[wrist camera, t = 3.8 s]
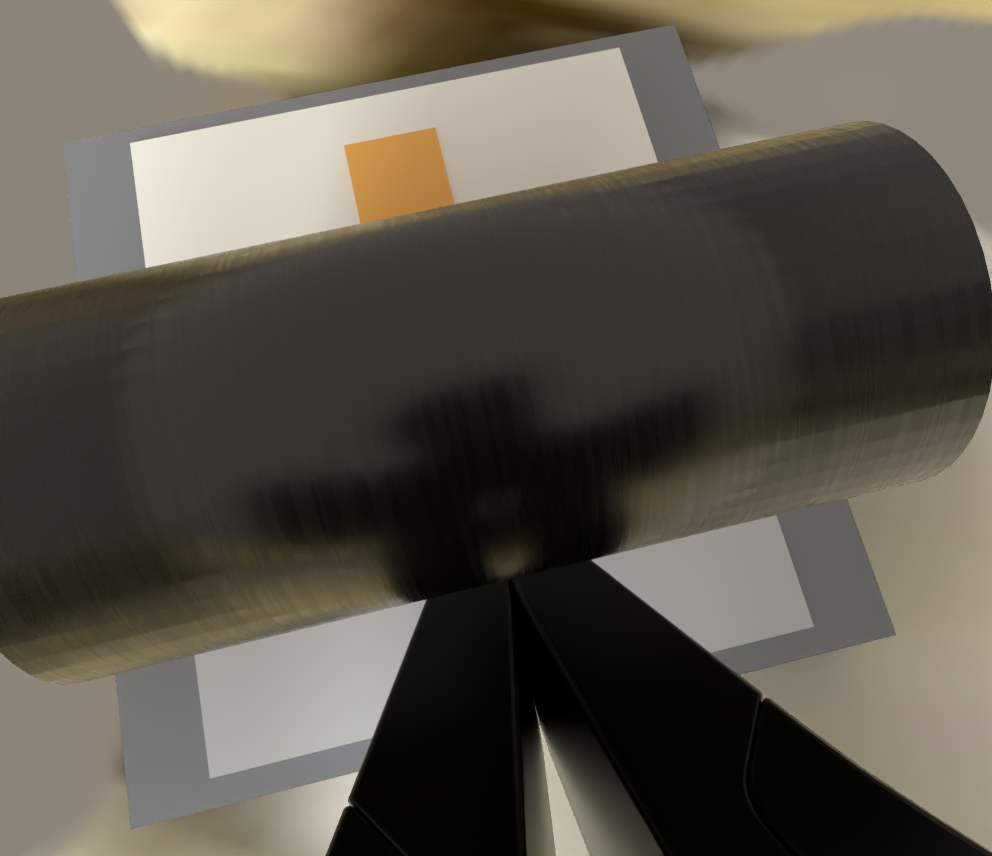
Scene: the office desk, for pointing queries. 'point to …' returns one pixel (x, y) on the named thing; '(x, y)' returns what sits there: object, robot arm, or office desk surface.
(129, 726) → the switch base
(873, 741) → the office desk surface
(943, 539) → the office desk surface
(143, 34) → the office desk surface
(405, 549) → the toggle lever
